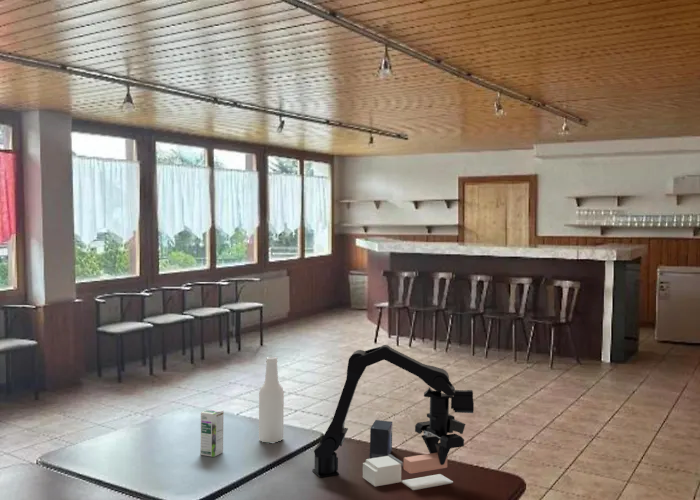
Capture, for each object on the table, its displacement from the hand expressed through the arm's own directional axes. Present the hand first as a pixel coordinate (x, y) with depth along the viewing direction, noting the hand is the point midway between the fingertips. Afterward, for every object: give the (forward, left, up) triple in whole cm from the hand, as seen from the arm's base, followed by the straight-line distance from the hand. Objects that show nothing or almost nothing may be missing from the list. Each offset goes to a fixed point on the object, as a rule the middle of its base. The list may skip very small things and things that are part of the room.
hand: (438, 462), depth 201 cm
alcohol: (-34, +57, -6) cm, 67 cm away
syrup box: (-57, +51, -6) cm, 77 cm away
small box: (-5, +27, -6) cm, 28 cm away
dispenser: (-15, +7, -6) cm, 18 cm away
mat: (-4, 0, -6) cm, 7 cm away
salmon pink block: (-4, 0, -1) cm, 5 cm away
